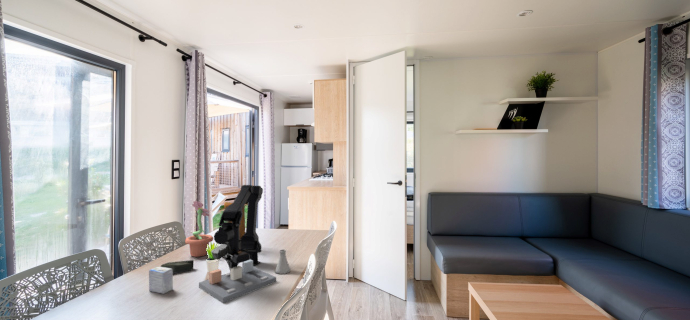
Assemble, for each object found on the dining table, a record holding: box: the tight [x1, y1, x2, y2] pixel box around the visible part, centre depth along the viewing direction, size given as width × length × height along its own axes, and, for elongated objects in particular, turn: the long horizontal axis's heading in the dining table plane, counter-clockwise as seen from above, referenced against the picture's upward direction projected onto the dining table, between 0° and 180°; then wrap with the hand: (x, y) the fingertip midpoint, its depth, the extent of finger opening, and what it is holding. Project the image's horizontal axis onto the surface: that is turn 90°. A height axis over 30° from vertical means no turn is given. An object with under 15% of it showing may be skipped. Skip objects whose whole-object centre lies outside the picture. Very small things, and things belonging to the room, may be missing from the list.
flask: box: [274, 249, 291, 275], centre depth 137 cm, size 7×7×10 cm
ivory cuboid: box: [229, 265, 242, 281], centre depth 124 cm, size 2×4×4 cm, turn 140°
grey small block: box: [241, 259, 254, 273], centre depth 131 cm, size 2×4×4 cm, turn 140°
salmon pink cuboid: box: [208, 268, 222, 284], centre depth 120 cm, size 2×4×4 cm, turn 140°
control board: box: [198, 266, 277, 304], centre depth 123 cm, size 20×24×3 cm
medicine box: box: [148, 266, 174, 295], centre depth 117 cm, size 8×4×9 cm, turn 71°
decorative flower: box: [185, 200, 214, 258], centre depth 159 cm, size 15×14×30 cm
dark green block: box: [159, 259, 194, 274], centre depth 135 cm, size 5×3×15 cm
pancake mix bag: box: [223, 201, 246, 252], centre depth 167 cm, size 7×19×28 cm, turn 49°
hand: (232, 273), depth 126 cm, fingers closed
